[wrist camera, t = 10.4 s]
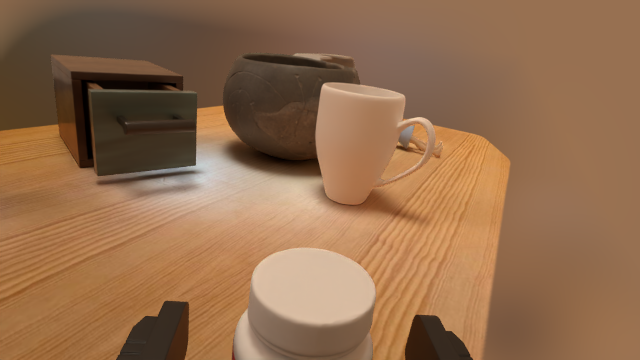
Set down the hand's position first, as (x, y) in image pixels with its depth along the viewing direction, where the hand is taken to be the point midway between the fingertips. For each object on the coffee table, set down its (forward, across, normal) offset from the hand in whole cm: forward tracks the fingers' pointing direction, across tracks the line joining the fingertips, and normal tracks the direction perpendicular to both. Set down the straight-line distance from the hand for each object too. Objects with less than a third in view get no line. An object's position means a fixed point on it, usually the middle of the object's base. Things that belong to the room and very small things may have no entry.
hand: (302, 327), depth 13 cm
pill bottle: (0, 0, +6) cm, 6 cm away
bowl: (+40, 0, +6) cm, 40 cm away
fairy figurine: (+50, -20, +6) cm, 54 cm away
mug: (+25, -8, +6) cm, 27 cm away
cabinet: (+36, +20, +6) cm, 42 cm away
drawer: (+30, +16, +5) cm, 34 cm away
